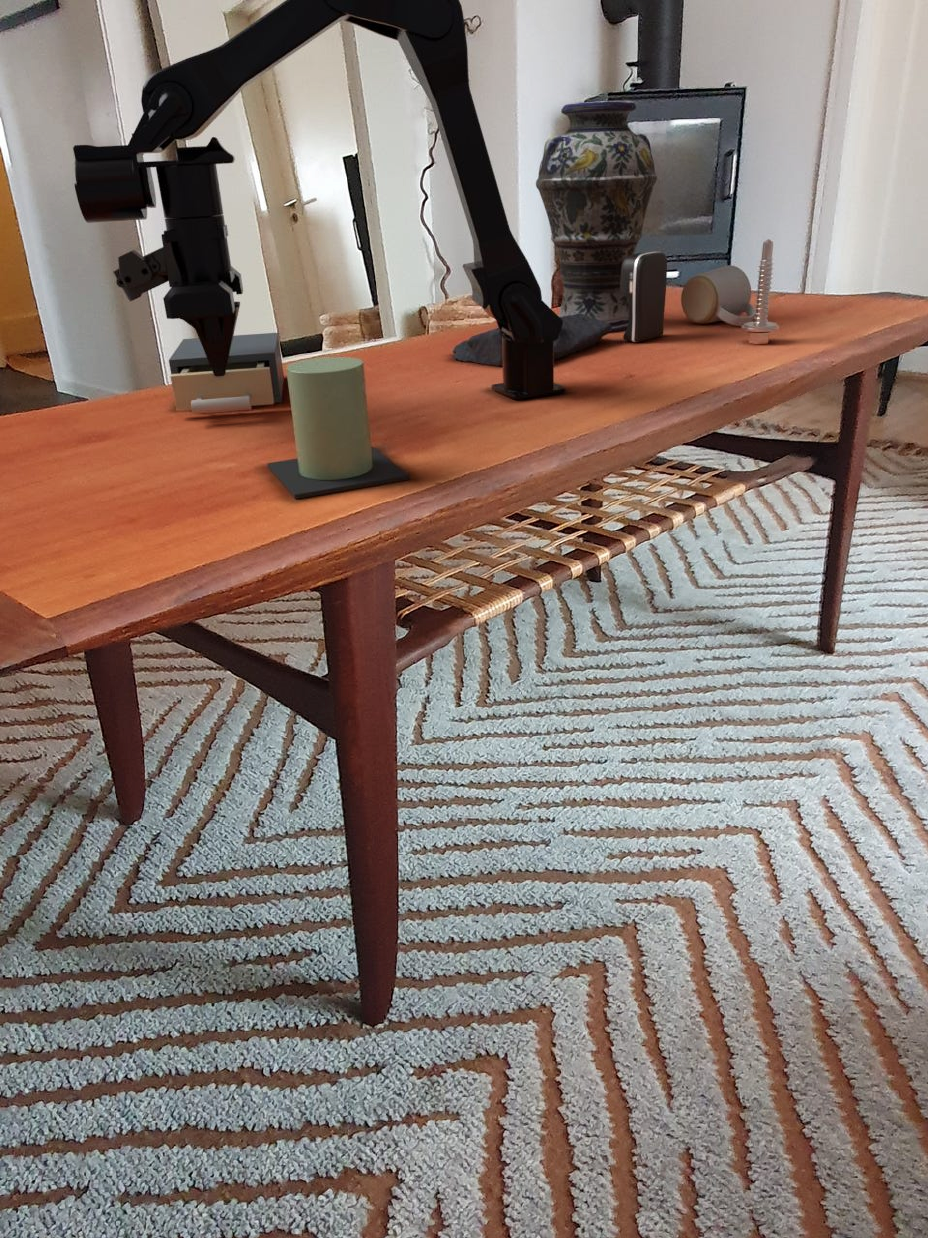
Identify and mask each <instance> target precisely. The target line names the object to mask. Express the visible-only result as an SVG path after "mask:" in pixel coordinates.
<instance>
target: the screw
mask: <svg viewBox="0 0 928 1238" xmlns="http://www.w3.org/2000/svg"><path fill="white" fill-rule="evenodd" d="M773 251H774V241H772V239H771V240H770V239H769V238H768V239H766V240H764V241H763V243H762V248H761V259H760V260H759V263H760V264H759V265H758V268H759V270H758V271H757V272H758V275H757V277H758V280H757V282H758V283H757V285H756V286H757V289H756V292H757V293H756V298H755V301H756V303H755V304H754V305H755V307H754V309H755V313H754V314H755V317H754V319H753V320H754V321H752V322H748V323H745V324H744V325H743V326H740V327H741V330H742V331H744V332H747V335H749V338H748V339H749V340H748V343H749V344H754V345H767V344H768V343H769V342H770V335H772V334H773V332H775V331H778V330H780V325H778V323H776V322H772V321H769V319H768V317H769V314H768V313H769V312H770V310H769V308H770V307H771V306H770V305H769V304H770V303H771V301H770V298H771V296H770V294H771V293H772V292H771V289H772V286H771V285H772V284H773V283H772V280H773V277H772V275H773V274H774V273H773V272H772V271H773V270H774V268H773V265H774V263H773V260H774V258H773V253H774V252H773Z"/></svg>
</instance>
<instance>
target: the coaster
mask: <svg viewBox="0 0 928 1238" xmlns="http://www.w3.org/2000/svg"><path fill="white" fill-rule="evenodd" d="M371 451H372V462H373V467H372V469H371V470H370V471H368V472H367V473H365V474H362V475H359V476H356V477H352V478H347V479H340V480H315V479H310V478H306V477H304V476H302V475H301V474H300V472H299V466H298V458H292V459H286V460H280V461H279V460H278V461H274V462H267V468H268V469H269V471H271V472H270V473H272V475H274V476H275V477H276V479H277V480H278V481H279V482H280V483H281V485H283V486H284V488H285V489H286V490H287V491H288V492H289V493H290V495H291V496H292V498H293V499H294V500H300V499H304V498H311V497H317V496H321V495H328V494H335V493H339V492H344V491H351V490H357V489H362V488H368V487H374V486H380V485H385V484H390V483H396V482H402V481H407V480H411V475H410V474H409V473H408V472H406V470H404V469H402V467H400V466H399V465H398V464H396V463H395V462H394V461H392V460H391V459H390V458H388V457H387V456H385V455H384V454H383V453H381V452H380V451H379V450H378V449H376V448H375V447H374V446H371Z"/></svg>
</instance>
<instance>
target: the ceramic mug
mask: <svg viewBox="0 0 928 1238" xmlns="http://www.w3.org/2000/svg"><path fill="white" fill-rule="evenodd" d="M751 299H752V287H751V283H750V279H749V277H748V276H747V274H746V273H745V272H744V270H742V269H741V268H739V267H738V266H737V265H736V266H735V265H724V266H721V267H717V268H714V269H710V270H707V271H703V272H700V273H698V274H696V275H694V276H692V277H691V278H689V280H687V281H686V283H685V284H684V285H683V288H682V290H681V296H680V305H681V308H682V311H683V313H684V315H685V316H686V318H687V319H689V320H690V321H691V322H693V323H696V324H705V325H706V324H711V323H716V322H721V321H723V322H724V323H726V324H728V325H732V326H735V327H742V326H743V325H744V324H745V323H748V322H754V320H755V319H754V318H755V314H754V313H756V310H755V307H754V305H752V303H751ZM744 313H745V314H746V316H743V314H744Z"/></svg>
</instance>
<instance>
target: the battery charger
mask: <svg viewBox="0 0 928 1238" xmlns="http://www.w3.org/2000/svg"><path fill="white" fill-rule="evenodd" d="M667 279H668V258H667V255H666V254H665V253H664V252H661V251H645V252H644V251H643V252H637V253H634V254H632V255H629V256H627V257H626V258H625V259H624V261H623V263H622V267H621V278H620V294H621V295H627V301H628V303H629V323H628V327H627V330H625V332H624V334H623V335H622V339H623V340H624V341H628V342H629V341H630V342H633V343H638V342H643V341H644V342H645V341H648V340H652V339H655V338H657V337H660V336H662V335H664V331H665V330H664V328H665V327H664V326H665V309H666V297H667V295H666V294H667V281H668V280H667Z"/></svg>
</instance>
